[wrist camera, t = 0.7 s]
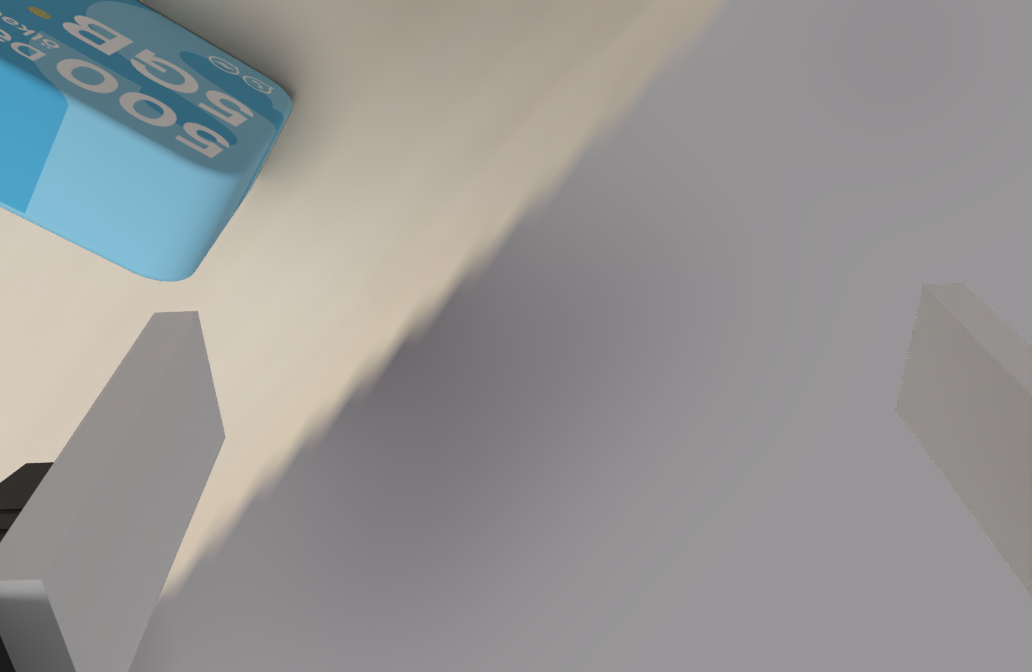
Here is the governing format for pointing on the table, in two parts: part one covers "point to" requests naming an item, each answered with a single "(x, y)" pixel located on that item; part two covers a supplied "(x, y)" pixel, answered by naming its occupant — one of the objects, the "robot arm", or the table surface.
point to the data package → (128, 131)
